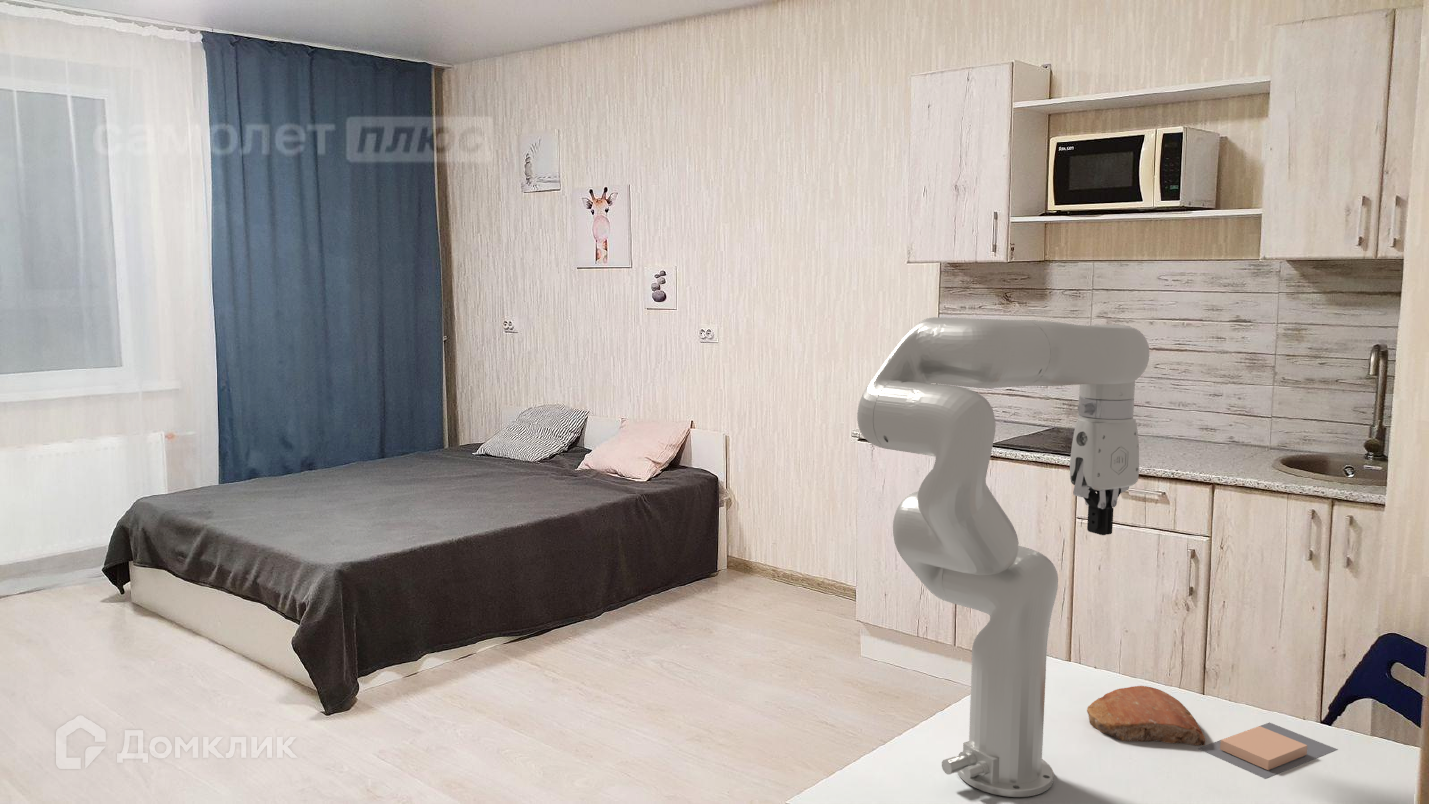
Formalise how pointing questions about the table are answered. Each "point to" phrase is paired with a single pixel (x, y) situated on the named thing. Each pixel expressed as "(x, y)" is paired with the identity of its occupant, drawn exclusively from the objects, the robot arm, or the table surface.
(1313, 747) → the mat
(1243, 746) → the tile
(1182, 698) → the table surface
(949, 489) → the robot arm
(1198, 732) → the ceramic shard
